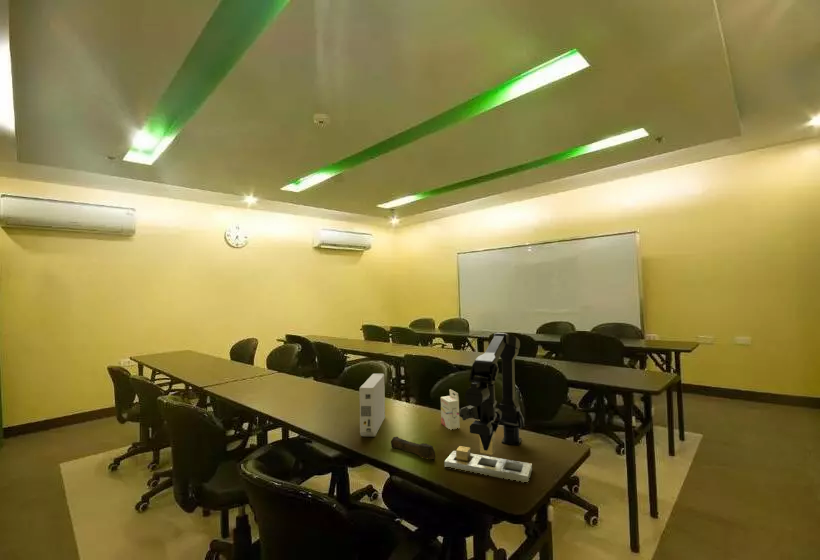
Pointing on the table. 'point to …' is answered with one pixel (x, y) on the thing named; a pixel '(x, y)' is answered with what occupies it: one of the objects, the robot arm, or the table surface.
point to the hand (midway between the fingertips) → (487, 447)
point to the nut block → (491, 446)
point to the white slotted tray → (473, 464)
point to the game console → (372, 405)
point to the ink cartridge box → (450, 411)
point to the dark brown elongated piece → (414, 448)
